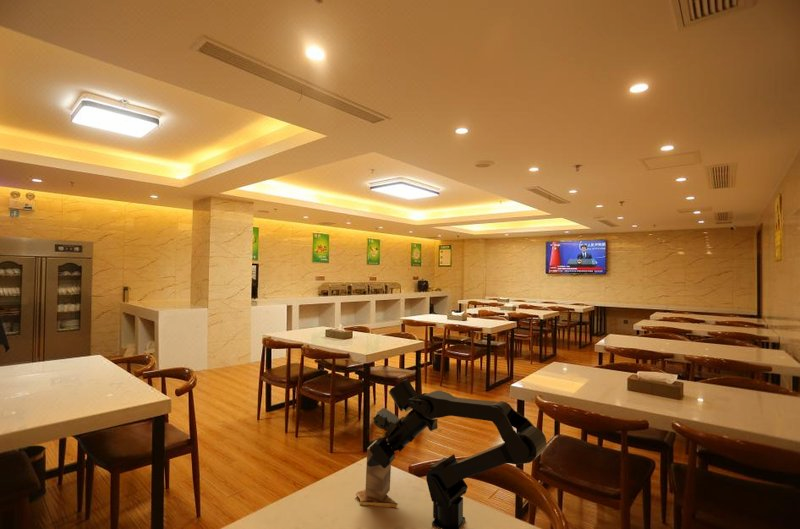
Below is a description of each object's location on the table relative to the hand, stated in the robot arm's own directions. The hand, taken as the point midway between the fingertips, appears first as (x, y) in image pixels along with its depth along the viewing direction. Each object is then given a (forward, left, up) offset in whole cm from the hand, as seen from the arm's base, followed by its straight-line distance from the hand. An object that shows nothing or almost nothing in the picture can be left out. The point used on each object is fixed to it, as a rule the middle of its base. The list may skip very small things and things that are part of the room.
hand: (373, 459), depth 108 cm
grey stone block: (-1, 0, -9) cm, 9 cm away
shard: (-1, 0, -11) cm, 11 cm away
